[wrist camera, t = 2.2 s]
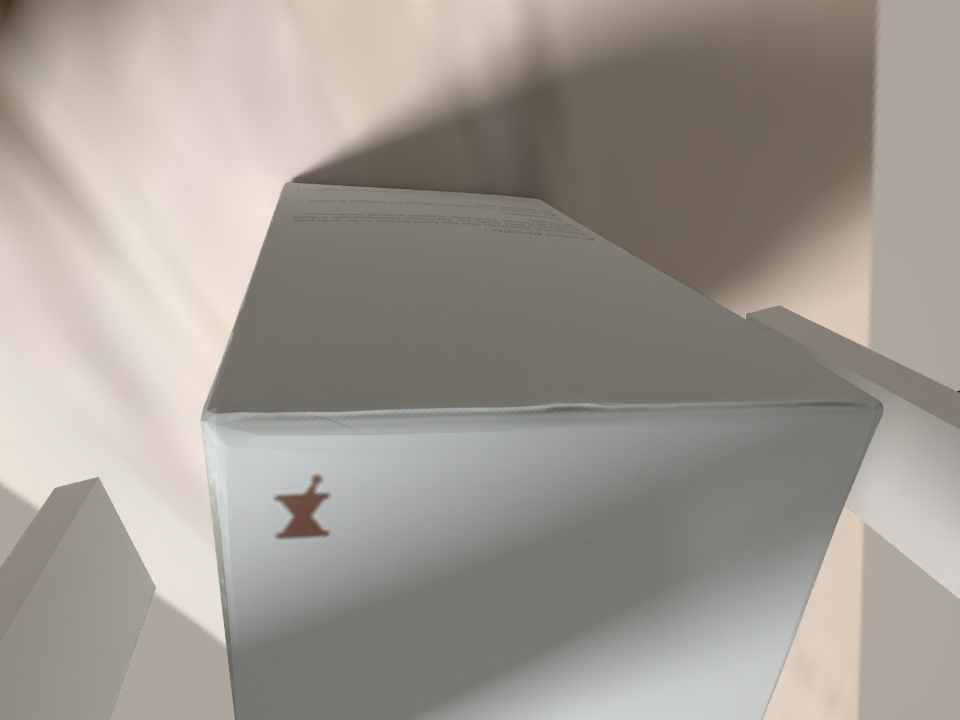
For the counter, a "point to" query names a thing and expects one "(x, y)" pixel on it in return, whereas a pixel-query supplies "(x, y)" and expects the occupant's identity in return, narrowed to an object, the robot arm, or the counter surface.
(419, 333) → the supplement box
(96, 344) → the counter surface
